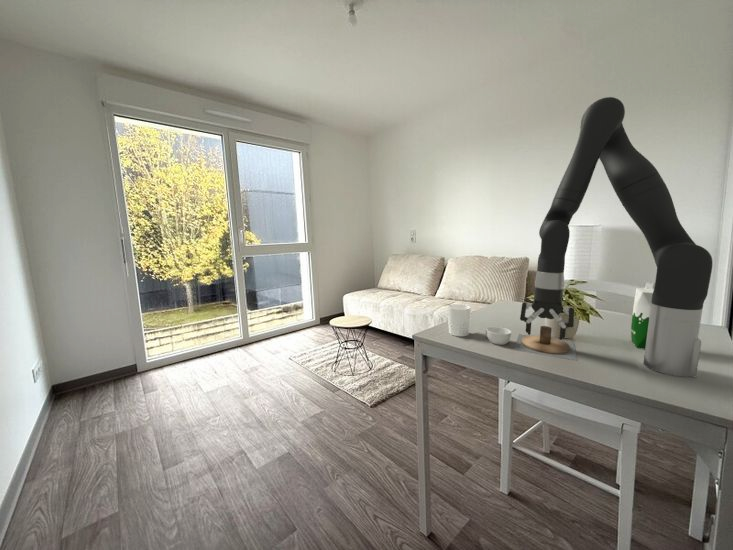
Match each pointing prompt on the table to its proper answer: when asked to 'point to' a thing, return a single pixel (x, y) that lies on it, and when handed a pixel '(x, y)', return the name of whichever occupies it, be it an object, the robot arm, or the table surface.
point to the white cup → (458, 319)
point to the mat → (568, 355)
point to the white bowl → (498, 335)
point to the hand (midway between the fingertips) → (544, 336)
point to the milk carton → (641, 316)
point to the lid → (545, 342)
